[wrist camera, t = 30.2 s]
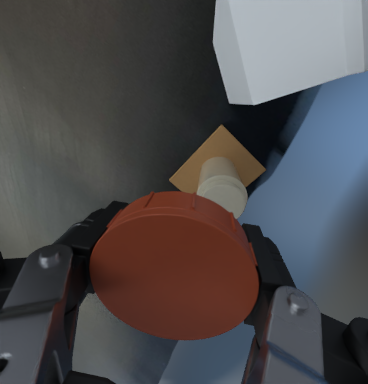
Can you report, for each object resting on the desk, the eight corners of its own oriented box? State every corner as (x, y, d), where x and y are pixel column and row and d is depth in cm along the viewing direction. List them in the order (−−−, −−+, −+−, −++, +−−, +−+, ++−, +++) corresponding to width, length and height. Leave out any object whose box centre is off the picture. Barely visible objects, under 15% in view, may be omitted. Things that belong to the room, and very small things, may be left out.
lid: (203, 161, 7) (202, 179, 5) (272, 278, 8) (287, 318, 7) (82, 229, 8) (54, 258, 7) (160, 315, 10) (151, 353, 9)
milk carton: (229, 104, 26) (271, 107, 8) (212, 42, 23) (223, -132, 6) (287, 81, 24) (487, 25, 7) (275, 11, 22) (544, -354, 4)
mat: (210, 214, 33) (210, 216, 32) (169, 178, 31) (168, 180, 30) (265, 168, 29) (266, 170, 28) (221, 124, 27) (221, 124, 26)
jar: (217, 199, 31) (221, 236, 22) (191, 175, 30) (184, 205, 21) (246, 175, 29) (262, 205, 20) (218, 148, 28) (223, 168, 19)
